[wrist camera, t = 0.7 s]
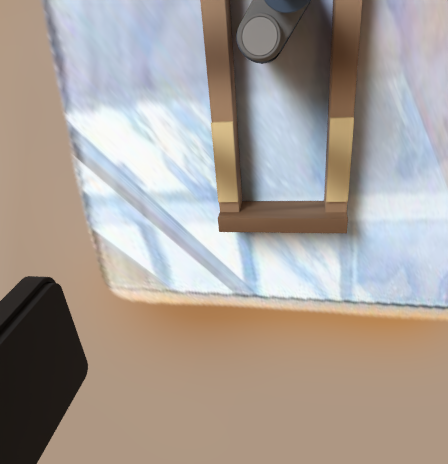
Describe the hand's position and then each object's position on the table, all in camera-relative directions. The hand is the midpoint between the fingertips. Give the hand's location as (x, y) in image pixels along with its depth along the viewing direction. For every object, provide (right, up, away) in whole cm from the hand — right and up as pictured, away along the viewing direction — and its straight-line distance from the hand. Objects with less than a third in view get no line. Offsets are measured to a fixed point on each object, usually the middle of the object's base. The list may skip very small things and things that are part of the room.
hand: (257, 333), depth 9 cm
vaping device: (+3, +17, +17) cm, 24 cm away
